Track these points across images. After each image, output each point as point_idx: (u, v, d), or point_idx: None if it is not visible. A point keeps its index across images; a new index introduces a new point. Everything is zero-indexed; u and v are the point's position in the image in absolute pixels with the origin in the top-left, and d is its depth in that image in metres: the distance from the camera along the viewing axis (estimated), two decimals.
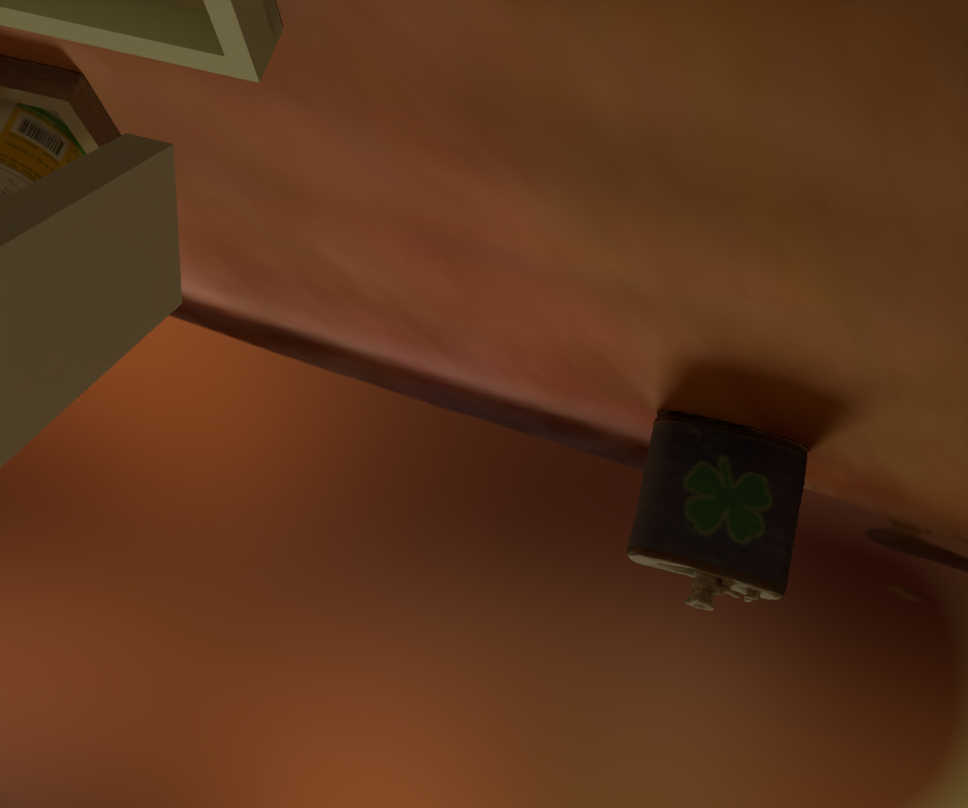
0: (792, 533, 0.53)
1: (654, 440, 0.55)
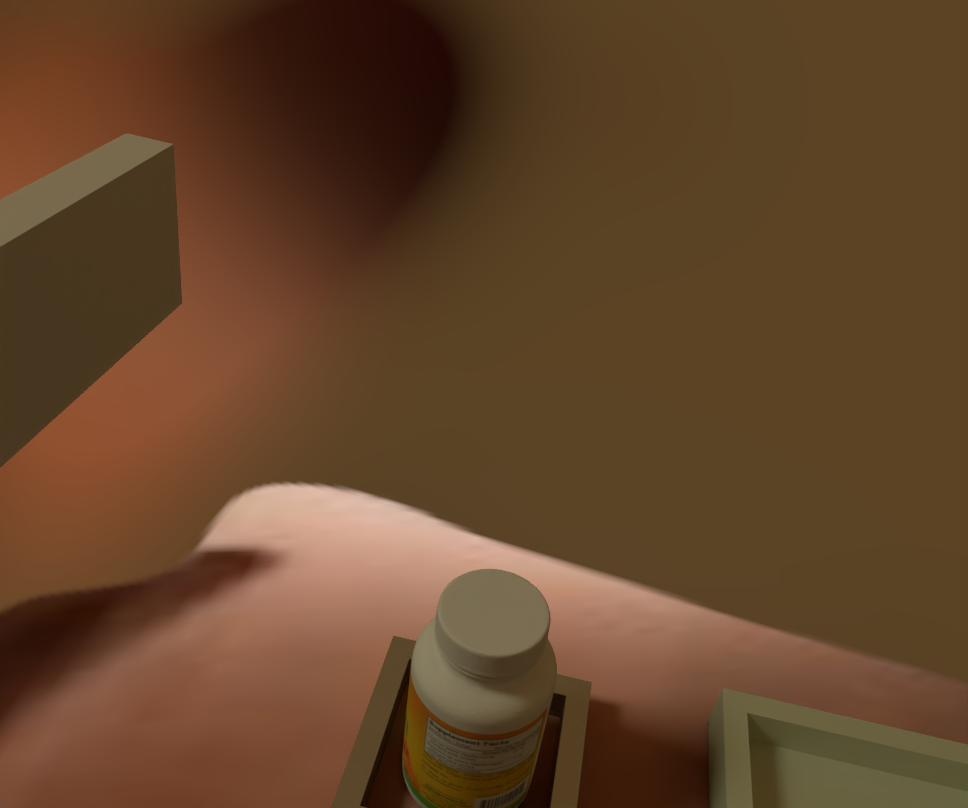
0: None
1: None
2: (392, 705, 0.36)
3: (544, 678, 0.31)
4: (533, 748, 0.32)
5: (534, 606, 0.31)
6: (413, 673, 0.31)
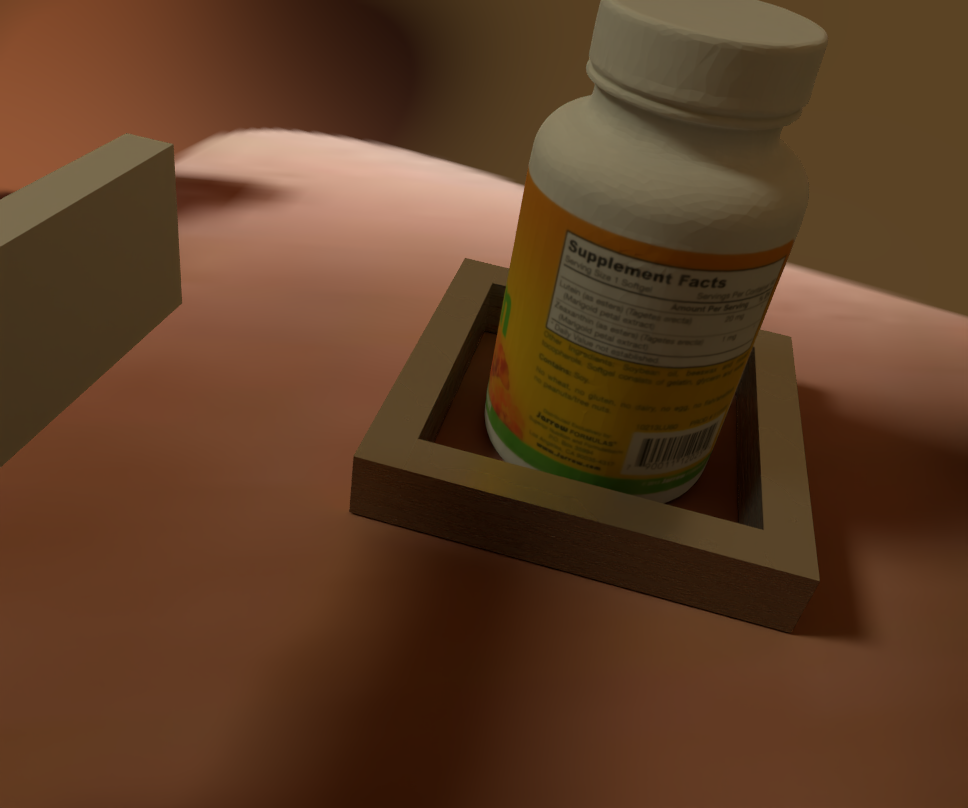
0: None
1: None
2: (468, 328, 0.21)
3: (796, 172, 0.16)
4: (749, 340, 0.17)
5: (789, 18, 0.16)
6: (538, 162, 0.16)
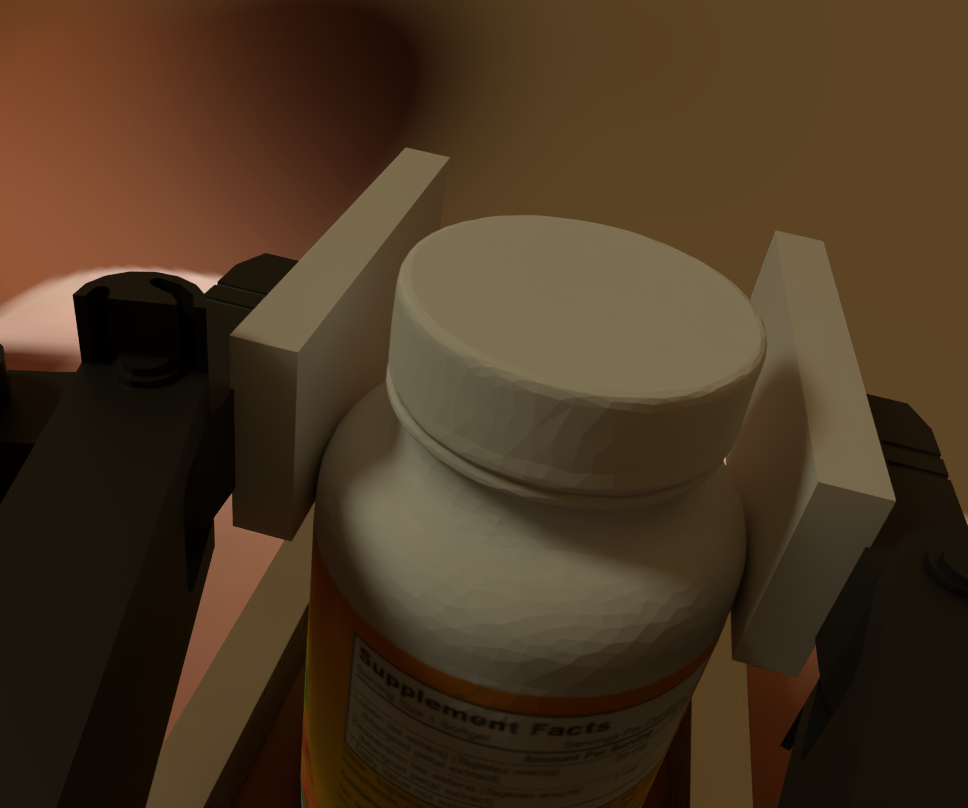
0: None
1: None
2: (289, 636, 0.15)
3: (725, 531, 0.10)
4: (663, 750, 0.11)
5: (708, 296, 0.10)
6: (318, 506, 0.10)
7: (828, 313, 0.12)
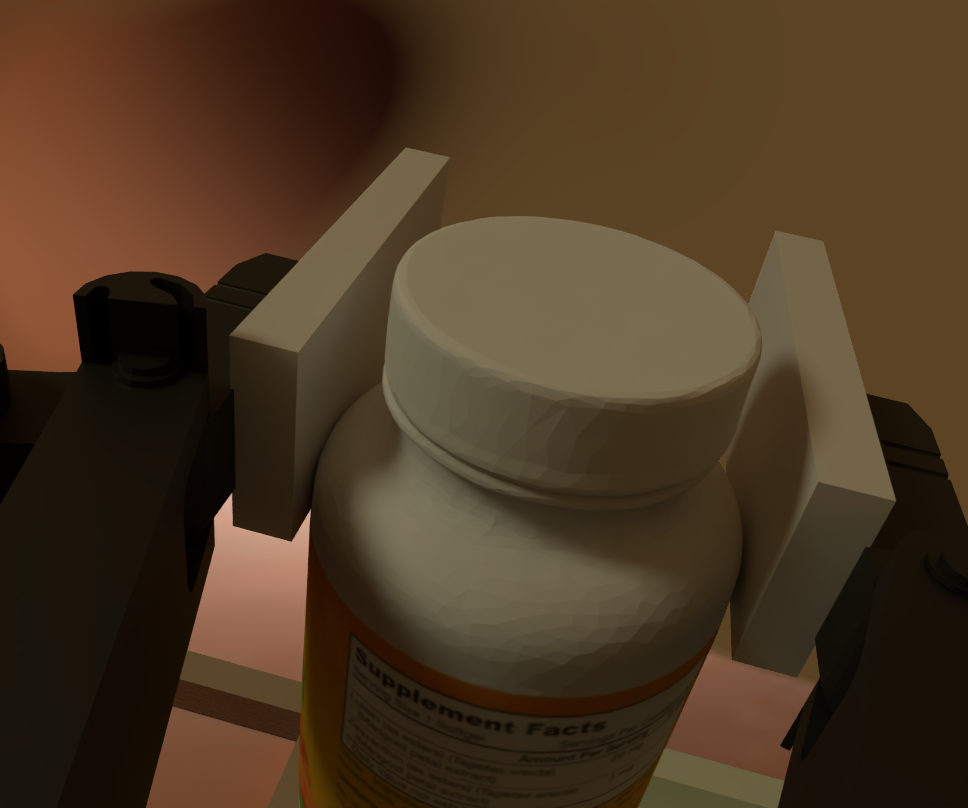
0: None
1: None
2: None
3: (720, 532, 0.10)
4: (658, 751, 0.11)
5: (703, 297, 0.10)
6: (314, 506, 0.10)
7: (828, 313, 0.12)
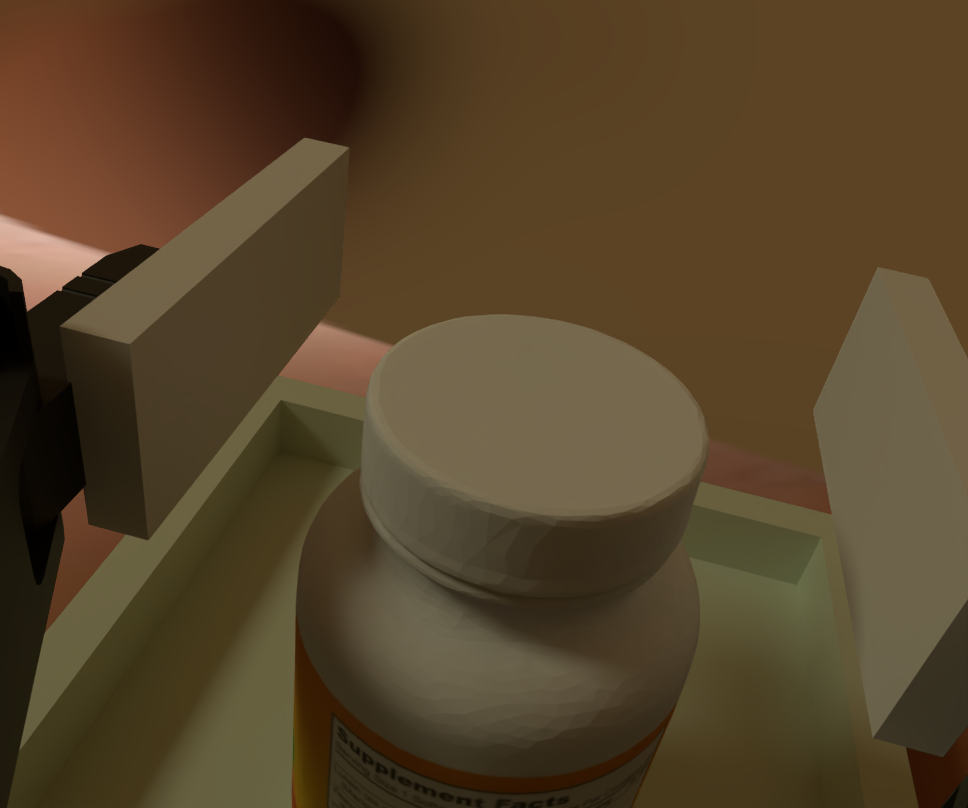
0: None
1: None
2: None
3: (676, 615, 0.11)
4: None
5: (656, 398, 0.10)
6: (299, 592, 0.11)
7: (953, 361, 0.11)
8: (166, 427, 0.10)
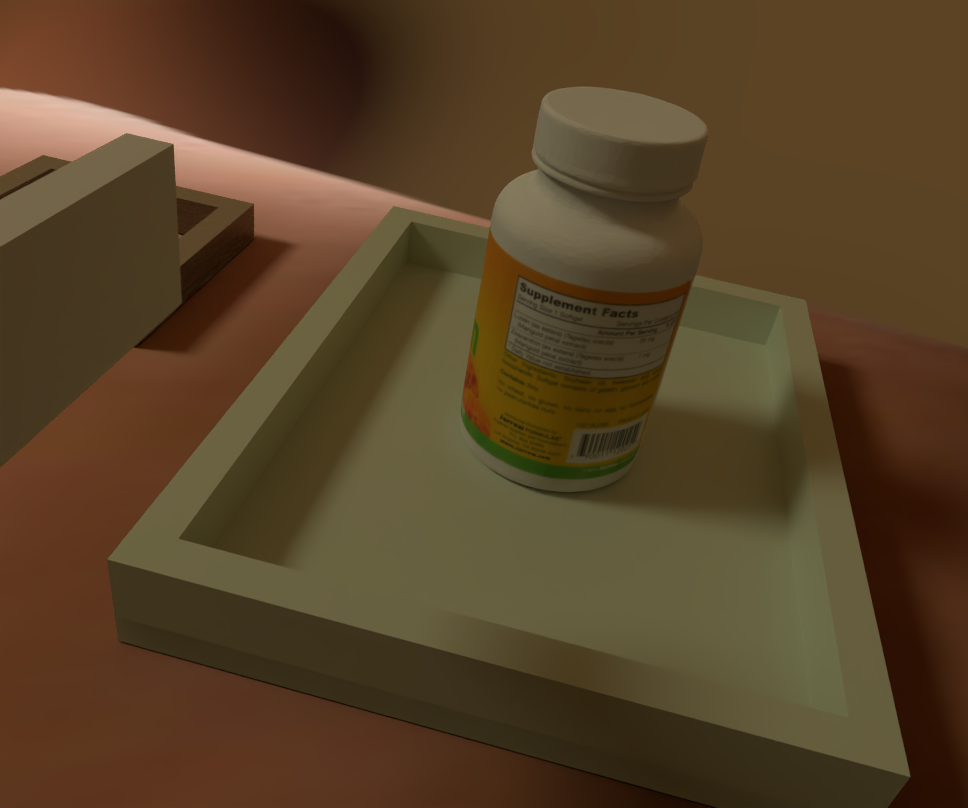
0: None
1: None
2: (9, 190, 0.32)
3: (691, 230, 0.21)
4: (662, 357, 0.22)
5: (681, 117, 0.21)
6: (497, 223, 0.21)
7: None
8: None
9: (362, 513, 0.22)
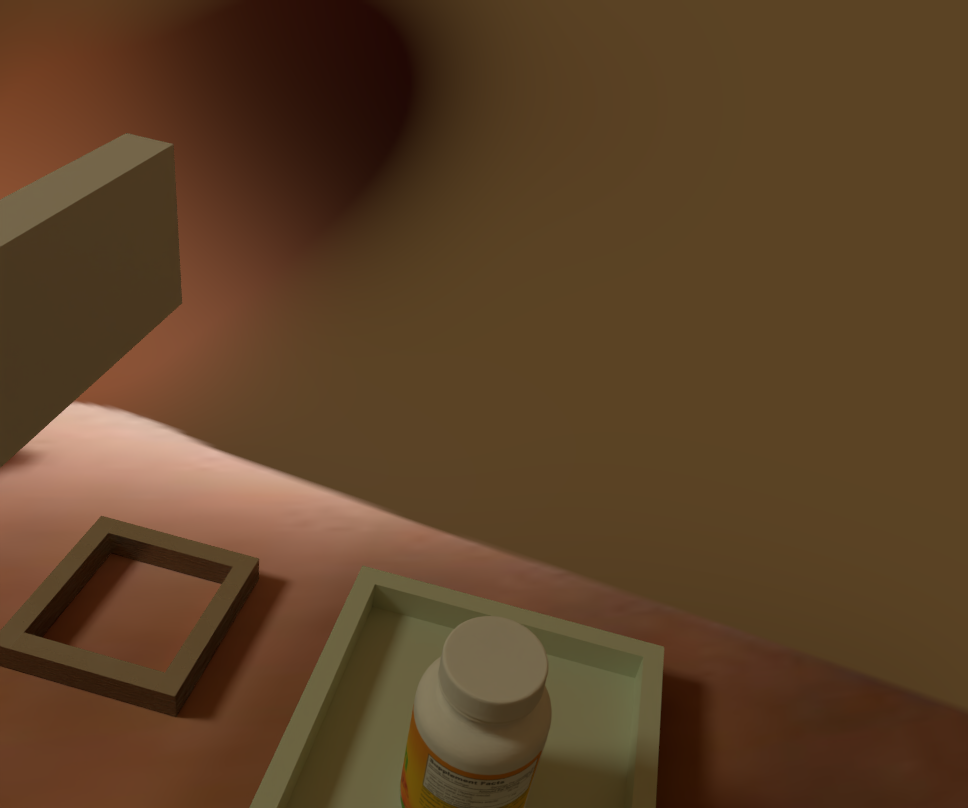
0: None
1: None
2: (80, 565, 0.44)
3: (540, 722, 0.33)
4: (526, 787, 0.34)
5: (533, 654, 0.33)
6: (416, 713, 0.33)
7: None
8: None
9: None
